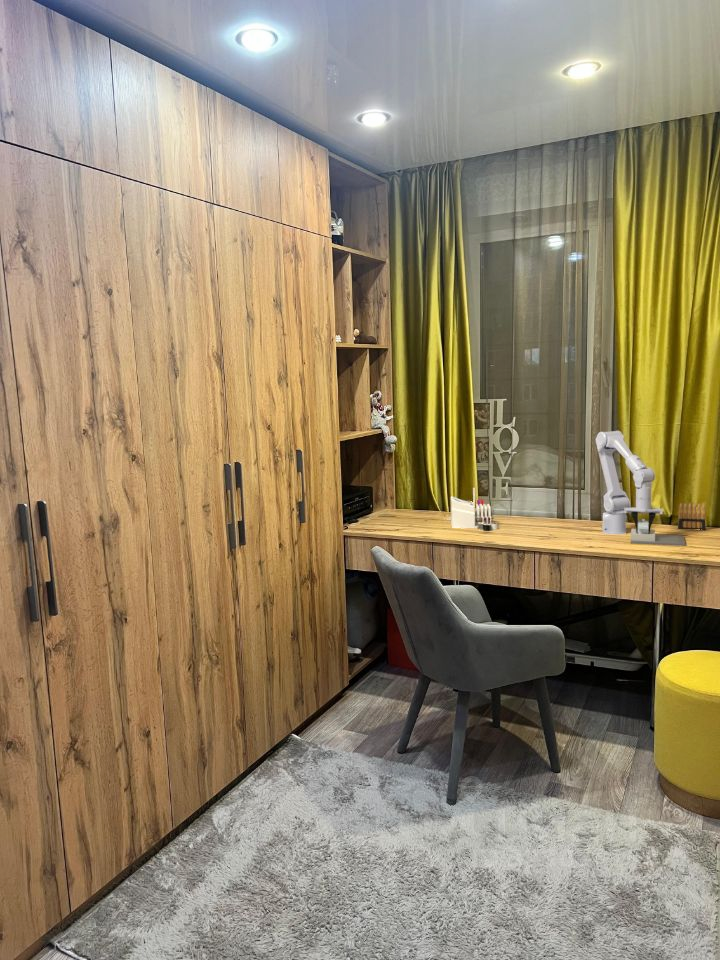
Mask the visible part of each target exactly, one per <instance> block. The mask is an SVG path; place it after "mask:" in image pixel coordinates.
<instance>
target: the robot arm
mask: <svg viewBox="0 0 720 960" xmlns="http://www.w3.org/2000/svg"><path fill="white" fill-rule="evenodd" d="M595 444H596V448H597V452H598V456H599V460H600V464H601V469H602V473H603V478H604V482H605V486H606V489H607V490H606V491H607V492H606V493H605V494H604V495H603V508H604V510H605V511H606V512H603V513H602V526H601V529H602V534H603V535H604V534H605V535H621V534H626V535H627V533H626V532H627V531H628V530H627V528H626V525H627V524H626V523H627V522H626V521H627V518H626V516H627V514H631V515H630V516H631V518H632V519H633V522H634V526H635V529H636V531H638V520H639V517H638V516H639V515H638V514H648V522H649V529H648V531H650V529H651V527H652V524H653V521H654V519H656V515H664V514H663V512H664V511H663V510H664V509H663V508H656V507H652V482H654V481H655V478H656V475H655V470H653V468H651V467H648V466H646V465H645V463H644V462H643V460H641V458H640V456H639V455H636V454H633V452H632V451H631V450H630V447H628V445H627V443H626V442H625V436H624V434H623V433H622V432H621V431H620V430H613V431H599V432H598V433H597V435H596V438H595ZM616 451H617V452H618V453H619V454H620V455H621V456H622V457H623V458H624V460H625V465H626V467H627V468H628V469H629V471H630V472H631V473H632V474H633V475H632V478H633V481H634V486H635V487H636V488H635V507H631V500H630V499H629V497H628V494H627V492H625V491H624V490H623V489H621V484H620V480H619V477H618V473H617V468H616V464H615V460H614V456H613V454H614V452H616Z"/></svg>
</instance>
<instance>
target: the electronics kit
mask: <svg viewBox="0 0 720 960" xmlns="http://www.w3.org/2000/svg"><path fill="white" fill-rule="evenodd" d="M472 493H473V494H472V495H473V497H472V498H473V502H472V501H470V500H471V499H468V500H464V499H460V498H458V497H455V496H453V495H451V496H450V515H451V517H449V518H447V520H451V525H452V528H461V529H477V530H479V529H480V530H481V531H483V532H492V531H496V530H498V522H492V520H494V514H493V513H492V510H491V508H492V507H491V505H490V503H485V499H476V487H473V488H472ZM475 500H477V504H476V508H475ZM444 519H445V518H444V517H443V520H444ZM489 521H490V522H489ZM480 530H479V531H480Z"/></svg>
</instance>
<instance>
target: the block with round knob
mask: <svg viewBox="0 0 720 960" xmlns="http://www.w3.org/2000/svg"><path fill="white" fill-rule="evenodd" d="M648 529H649V520H647V519H645V518H640V520H639V519H638V534H648Z"/></svg>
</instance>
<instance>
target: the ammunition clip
mask: <svg viewBox="0 0 720 960" xmlns="http://www.w3.org/2000/svg"><path fill="white" fill-rule="evenodd" d="M683 504H684V505H683ZM706 516H707V515H706V505H705V503H704V502H703V503H702V506H701V503H698V504H697V506H696V503H695V502H694V503H693V505H692V503H691V502H689V503H688V505H687V502H684V503H682V502H680V504H679V509H678V523H677V530H678V529H700V530H699V531H706ZM701 529H702V530H701Z"/></svg>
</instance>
